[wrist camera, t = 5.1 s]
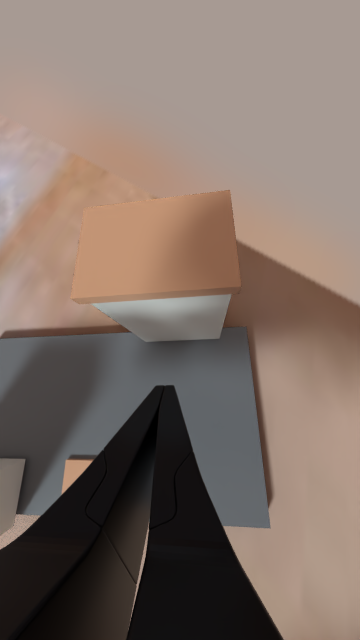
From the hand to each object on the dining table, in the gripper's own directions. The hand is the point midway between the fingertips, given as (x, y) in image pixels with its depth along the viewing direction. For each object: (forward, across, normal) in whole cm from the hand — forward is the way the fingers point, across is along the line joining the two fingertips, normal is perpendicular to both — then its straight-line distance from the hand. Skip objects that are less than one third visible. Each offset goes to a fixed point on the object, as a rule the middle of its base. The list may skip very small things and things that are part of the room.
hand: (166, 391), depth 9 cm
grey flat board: (+5, +7, +7) cm, 11 cm away
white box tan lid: (+9, 0, 0) cm, 9 cm away
